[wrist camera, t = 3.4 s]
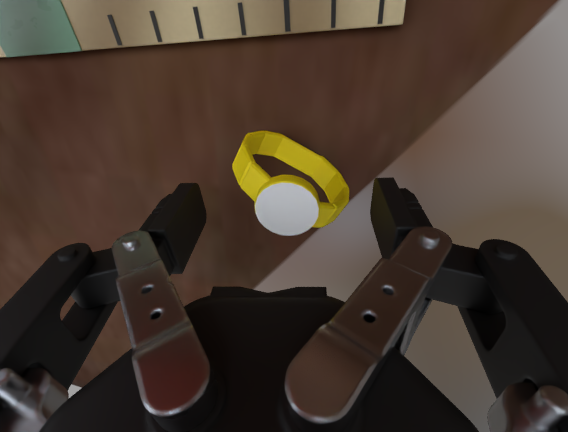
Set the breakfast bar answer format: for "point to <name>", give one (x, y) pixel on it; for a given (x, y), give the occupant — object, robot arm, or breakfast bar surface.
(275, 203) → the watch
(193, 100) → the breakfast bar surface
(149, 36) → the ruler
